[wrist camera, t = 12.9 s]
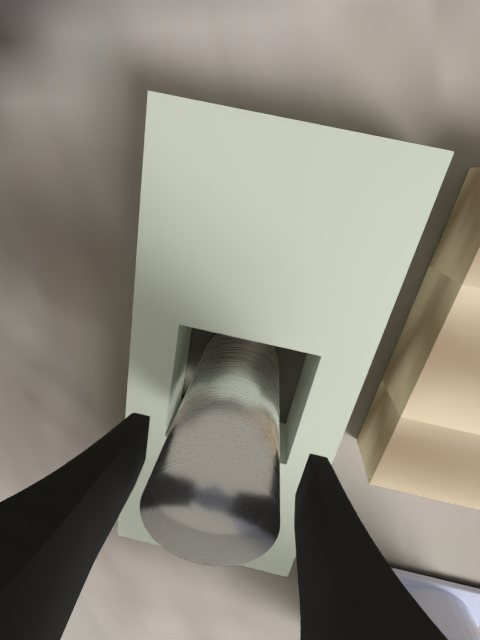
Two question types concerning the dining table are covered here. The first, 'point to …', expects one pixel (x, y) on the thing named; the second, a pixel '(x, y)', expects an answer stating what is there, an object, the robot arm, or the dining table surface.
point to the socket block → (435, 375)
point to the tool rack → (269, 267)
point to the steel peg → (221, 460)
